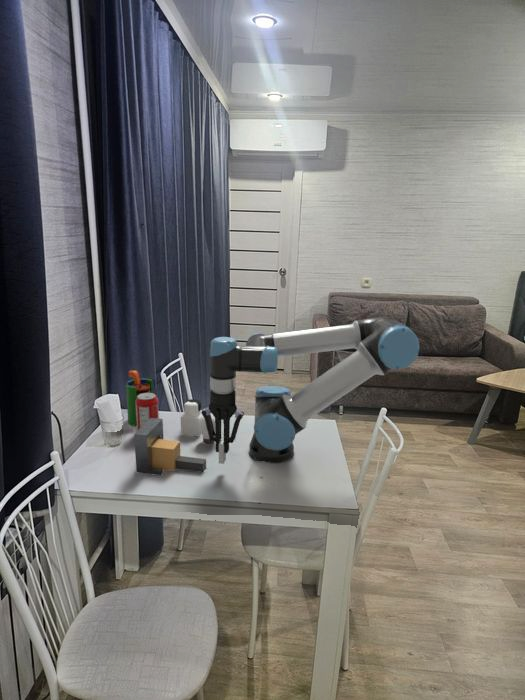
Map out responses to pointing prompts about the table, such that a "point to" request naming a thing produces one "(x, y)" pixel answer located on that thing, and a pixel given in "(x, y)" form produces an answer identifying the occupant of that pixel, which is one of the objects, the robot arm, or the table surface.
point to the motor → (135, 394)
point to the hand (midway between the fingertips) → (222, 461)
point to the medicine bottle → (191, 417)
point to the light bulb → (205, 429)
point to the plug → (174, 457)
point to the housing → (147, 446)
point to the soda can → (146, 408)
